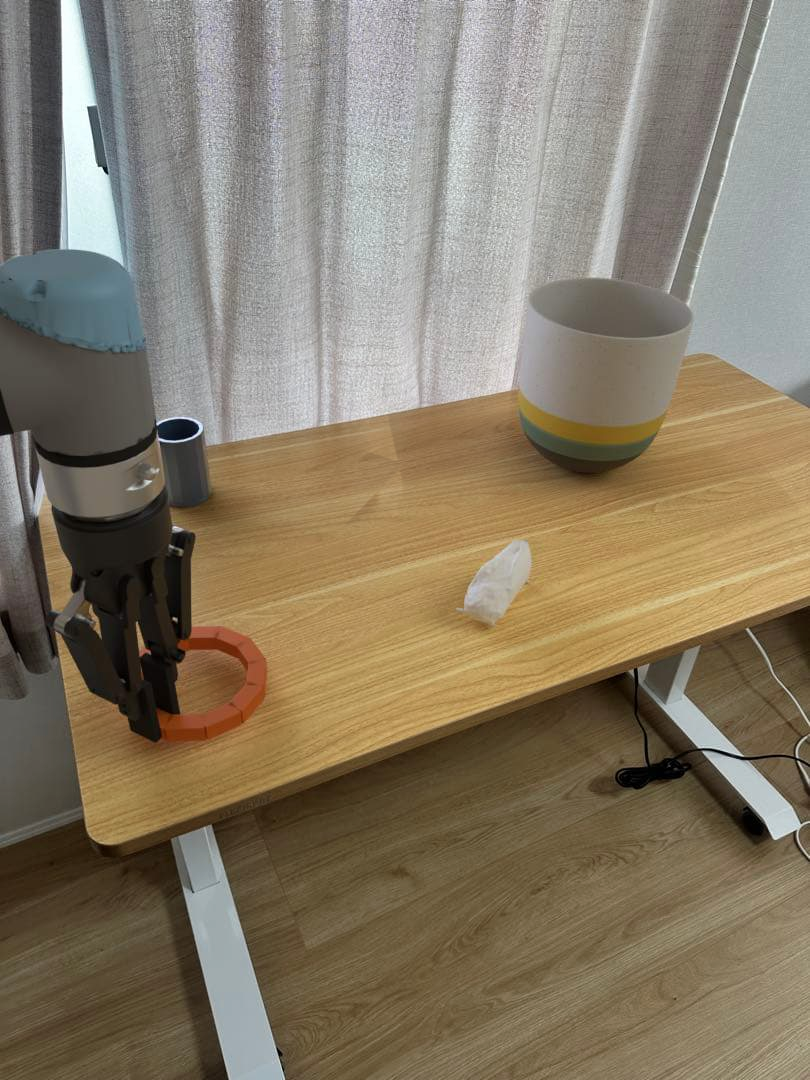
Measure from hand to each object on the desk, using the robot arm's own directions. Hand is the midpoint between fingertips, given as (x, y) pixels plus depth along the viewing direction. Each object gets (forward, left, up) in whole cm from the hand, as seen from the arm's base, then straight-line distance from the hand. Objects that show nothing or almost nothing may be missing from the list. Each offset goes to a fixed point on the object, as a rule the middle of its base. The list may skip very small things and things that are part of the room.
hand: (155, 723), depth 68 cm
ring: (0, +5, 0) cm, 5 cm away
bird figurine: (+19, +31, -2) cm, 36 cm away
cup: (-22, +31, -2) cm, 38 cm away
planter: (+18, +64, -2) cm, 66 cm away
